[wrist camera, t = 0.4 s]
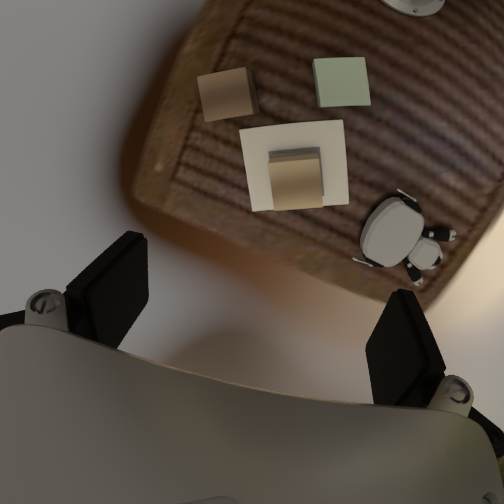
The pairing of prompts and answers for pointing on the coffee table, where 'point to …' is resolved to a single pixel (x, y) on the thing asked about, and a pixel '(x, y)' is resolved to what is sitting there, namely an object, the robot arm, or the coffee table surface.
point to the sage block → (341, 81)
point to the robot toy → (402, 237)
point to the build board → (290, 141)
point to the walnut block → (228, 94)
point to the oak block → (295, 180)
